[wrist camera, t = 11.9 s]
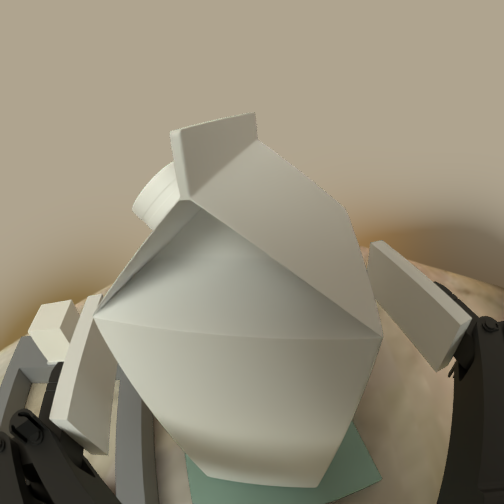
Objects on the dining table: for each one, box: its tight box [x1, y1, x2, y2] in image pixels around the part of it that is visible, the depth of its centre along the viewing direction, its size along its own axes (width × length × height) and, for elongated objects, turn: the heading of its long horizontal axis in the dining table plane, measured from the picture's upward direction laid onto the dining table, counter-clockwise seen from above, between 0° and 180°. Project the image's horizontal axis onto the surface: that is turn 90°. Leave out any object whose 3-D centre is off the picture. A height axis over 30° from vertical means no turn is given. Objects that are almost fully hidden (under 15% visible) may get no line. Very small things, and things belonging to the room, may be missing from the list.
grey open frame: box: [0, 300, 159, 504], centre depth 14 cm, size 17×22×7 cm
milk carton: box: [92, 112, 383, 488], centre depth 11 cm, size 7×7×19 cm
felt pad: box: [185, 421, 382, 504], centre depth 16 cm, size 12×12×1 cm
